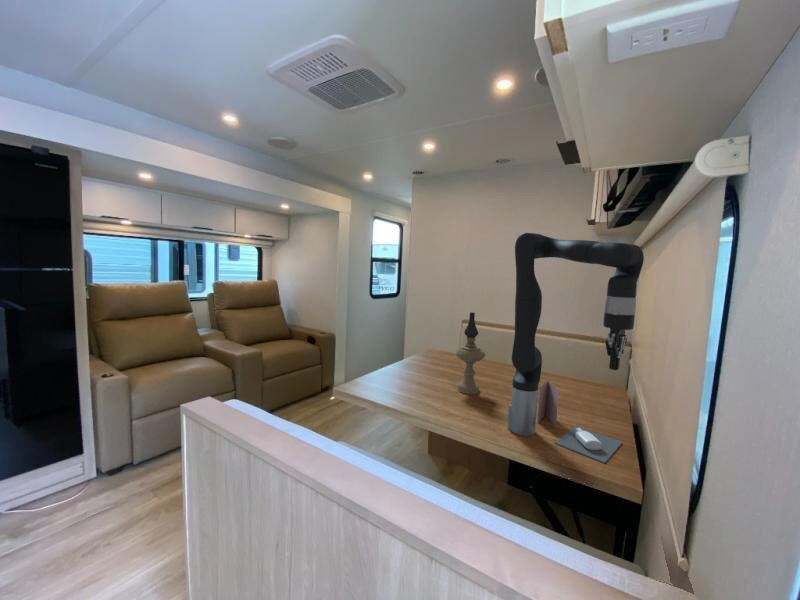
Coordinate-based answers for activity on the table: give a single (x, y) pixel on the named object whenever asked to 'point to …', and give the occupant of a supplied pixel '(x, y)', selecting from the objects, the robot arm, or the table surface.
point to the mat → (600, 455)
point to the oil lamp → (470, 358)
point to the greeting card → (548, 402)
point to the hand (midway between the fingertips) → (613, 369)
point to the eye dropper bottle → (588, 439)
